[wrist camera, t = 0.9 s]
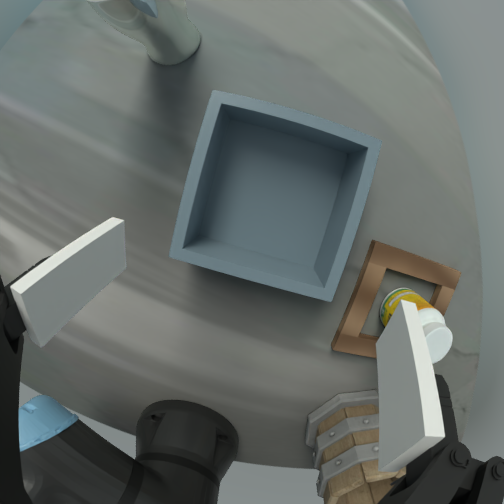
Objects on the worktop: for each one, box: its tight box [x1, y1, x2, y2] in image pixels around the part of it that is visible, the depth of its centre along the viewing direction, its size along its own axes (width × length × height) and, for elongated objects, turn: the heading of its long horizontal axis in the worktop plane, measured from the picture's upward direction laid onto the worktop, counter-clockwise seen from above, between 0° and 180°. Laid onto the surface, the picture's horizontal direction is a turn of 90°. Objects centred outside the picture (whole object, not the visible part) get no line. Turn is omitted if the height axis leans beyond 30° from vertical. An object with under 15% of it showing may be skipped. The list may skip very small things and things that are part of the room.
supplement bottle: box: [380, 288, 452, 364], centre depth 27 cm, size 5×5×10 cm
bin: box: [169, 90, 382, 302], centre depth 26 cm, size 14×14×7 cm
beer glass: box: [86, 0, 200, 65], centre depth 18 cm, size 7×7×15 cm
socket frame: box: [331, 240, 461, 358], centre depth 31 cm, size 13×13×1 cm
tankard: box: [305, 390, 406, 504], centre depth 28 cm, size 20×13×15 cm, turn 91°
